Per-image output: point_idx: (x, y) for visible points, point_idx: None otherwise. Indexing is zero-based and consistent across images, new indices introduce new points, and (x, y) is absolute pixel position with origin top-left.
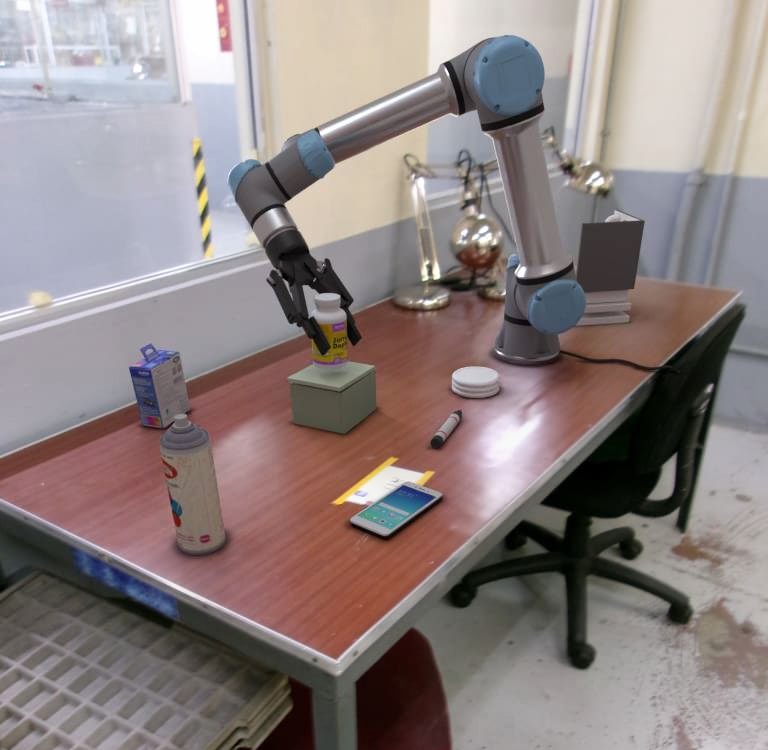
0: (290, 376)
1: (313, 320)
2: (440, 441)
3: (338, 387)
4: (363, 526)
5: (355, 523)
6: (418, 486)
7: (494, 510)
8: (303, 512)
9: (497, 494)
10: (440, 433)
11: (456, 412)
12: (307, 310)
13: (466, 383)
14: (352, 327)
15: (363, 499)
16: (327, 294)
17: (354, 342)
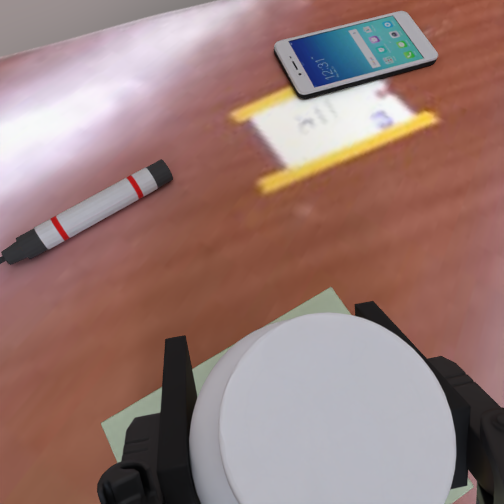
0: (456, 491)
1: (445, 391)
2: (157, 161)
3: (333, 291)
4: (425, 37)
5: (433, 48)
6: (294, 73)
7: (228, 4)
8: (493, 120)
9: (193, 26)
10: (139, 174)
11: (26, 237)
12: (494, 453)
13: None
14: (185, 374)
15: (386, 105)
16: (308, 490)
17: (193, 376)
